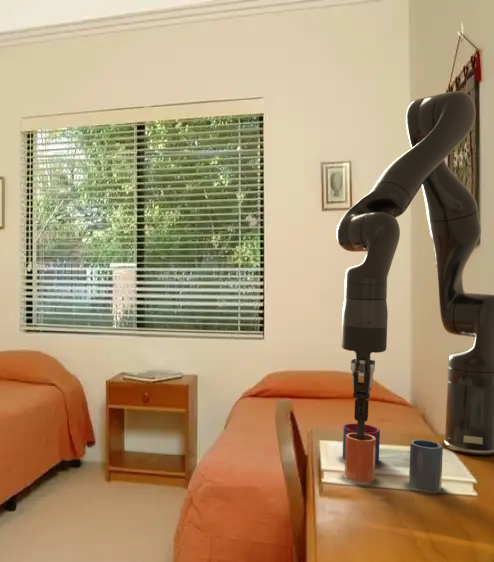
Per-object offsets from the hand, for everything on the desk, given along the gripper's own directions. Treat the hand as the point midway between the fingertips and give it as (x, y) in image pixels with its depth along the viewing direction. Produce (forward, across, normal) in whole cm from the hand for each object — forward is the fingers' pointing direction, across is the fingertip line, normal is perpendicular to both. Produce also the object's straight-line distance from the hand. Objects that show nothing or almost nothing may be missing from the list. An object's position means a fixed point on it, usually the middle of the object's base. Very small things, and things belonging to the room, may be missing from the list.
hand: (361, 419), depth 108 cm
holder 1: (+11, 0, 0) cm, 11 cm away
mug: (+11, +9, 0) cm, 15 cm away
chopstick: (+8, 0, 0) cm, 8 cm away
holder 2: (+11, +1, -11) cm, 15 cm away
